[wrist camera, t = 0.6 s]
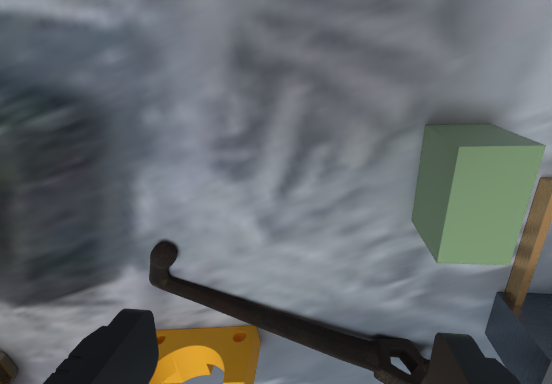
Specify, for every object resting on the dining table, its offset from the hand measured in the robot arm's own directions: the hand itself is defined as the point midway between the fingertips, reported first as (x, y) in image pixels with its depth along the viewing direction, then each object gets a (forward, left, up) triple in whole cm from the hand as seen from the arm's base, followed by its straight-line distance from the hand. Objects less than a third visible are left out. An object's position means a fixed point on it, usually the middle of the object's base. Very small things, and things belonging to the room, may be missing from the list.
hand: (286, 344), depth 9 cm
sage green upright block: (+2, +11, -18) cm, 21 cm away
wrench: (+15, -1, -18) cm, 24 cm away
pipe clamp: (+21, -11, -18) cm, 30 cm away
